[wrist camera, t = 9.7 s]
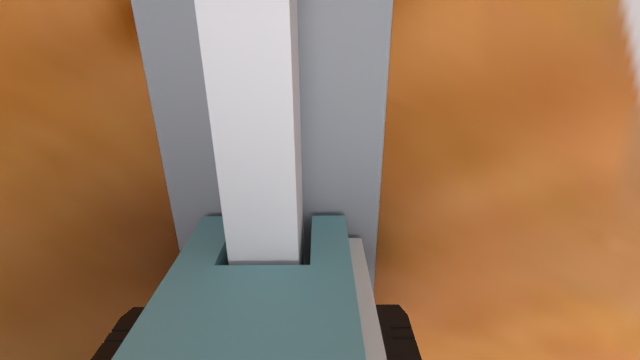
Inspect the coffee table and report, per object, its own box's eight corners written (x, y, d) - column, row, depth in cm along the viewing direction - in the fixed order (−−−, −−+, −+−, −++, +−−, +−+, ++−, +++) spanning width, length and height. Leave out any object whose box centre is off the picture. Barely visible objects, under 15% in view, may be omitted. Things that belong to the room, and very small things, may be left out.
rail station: (211, 371, 20) (148, 566, 13) (97, -256, 10) (-513, -1062, 3) (364, 370, 20) (391, 564, 13) (404, -258, 10) (637, -1066, 3)
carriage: (217, 308, 16) (146, 500, 10) (203, 216, 15) (100, 375, 8) (342, 307, 16) (359, 499, 10) (344, 215, 15) (368, 373, 8)
